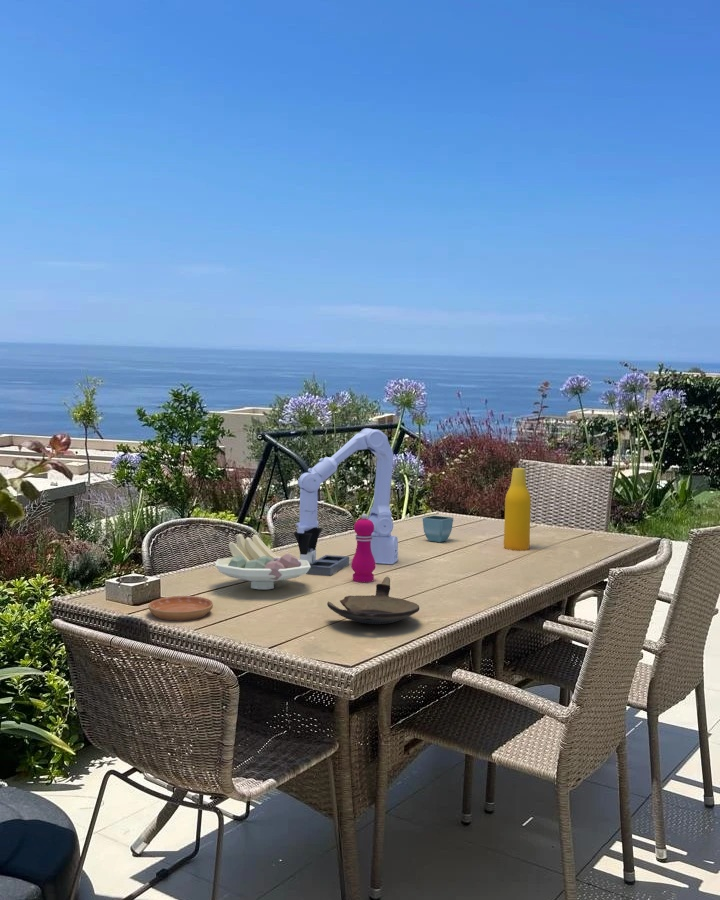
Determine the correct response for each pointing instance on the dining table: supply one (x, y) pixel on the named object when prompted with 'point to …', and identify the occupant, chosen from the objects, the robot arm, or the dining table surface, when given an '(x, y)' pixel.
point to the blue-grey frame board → (328, 565)
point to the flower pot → (437, 528)
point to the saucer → (180, 607)
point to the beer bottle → (517, 513)
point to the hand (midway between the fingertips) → (307, 552)
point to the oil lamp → (376, 607)
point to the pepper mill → (363, 551)
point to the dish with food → (260, 564)
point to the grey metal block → (309, 555)
